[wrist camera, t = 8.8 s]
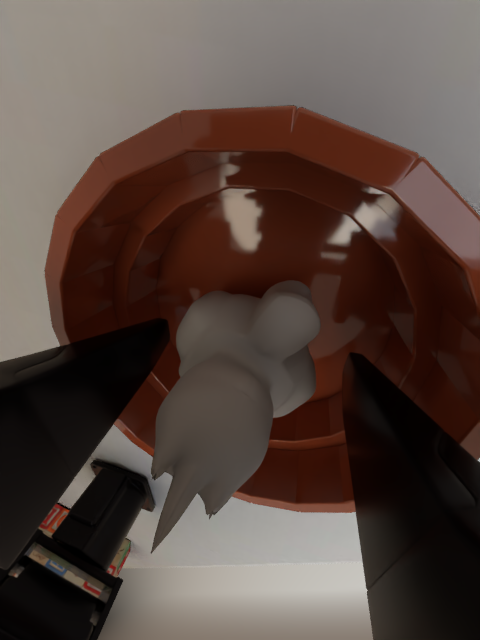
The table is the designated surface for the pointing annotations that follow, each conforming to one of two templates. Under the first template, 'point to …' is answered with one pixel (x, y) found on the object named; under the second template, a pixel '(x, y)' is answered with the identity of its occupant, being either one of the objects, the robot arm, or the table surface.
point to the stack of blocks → (48, 529)
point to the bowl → (280, 270)
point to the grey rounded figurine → (231, 392)
